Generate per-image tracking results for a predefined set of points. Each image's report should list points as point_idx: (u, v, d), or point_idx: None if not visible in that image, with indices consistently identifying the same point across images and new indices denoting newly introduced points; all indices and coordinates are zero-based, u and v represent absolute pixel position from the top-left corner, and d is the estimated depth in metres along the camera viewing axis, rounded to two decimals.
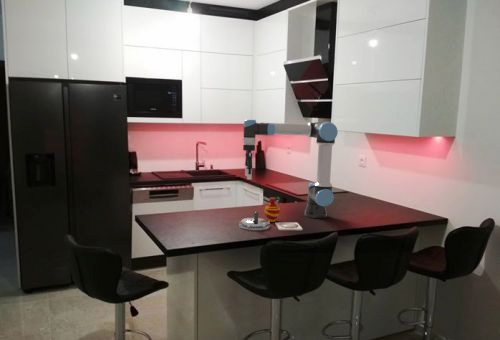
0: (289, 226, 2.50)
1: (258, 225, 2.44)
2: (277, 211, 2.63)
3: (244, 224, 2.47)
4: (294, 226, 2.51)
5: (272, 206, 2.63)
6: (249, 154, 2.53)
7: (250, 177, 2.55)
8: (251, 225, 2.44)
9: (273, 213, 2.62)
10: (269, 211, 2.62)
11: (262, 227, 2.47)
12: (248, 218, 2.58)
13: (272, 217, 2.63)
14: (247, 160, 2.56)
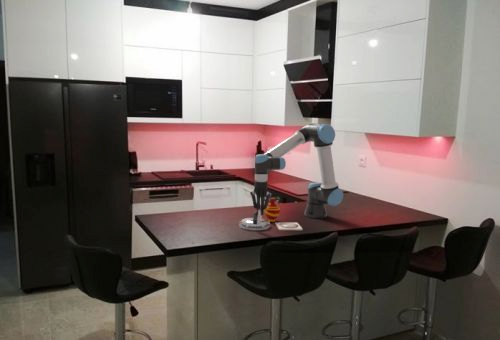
0: (289, 226, 2.50)
1: (257, 225, 2.44)
2: (277, 211, 2.63)
3: (243, 224, 2.47)
4: (294, 226, 2.51)
5: (272, 206, 2.63)
6: None
7: None
8: (250, 225, 2.44)
9: (273, 213, 2.62)
10: (269, 211, 2.62)
11: (262, 227, 2.47)
12: (249, 218, 2.58)
13: (272, 217, 2.63)
14: None
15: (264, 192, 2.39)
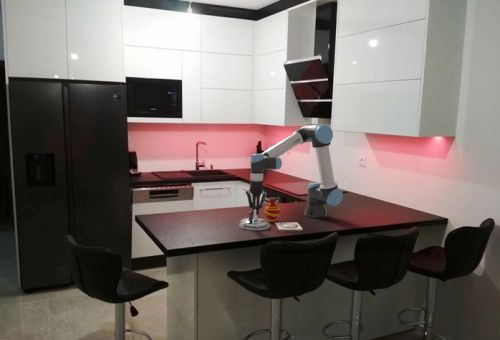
0: (289, 226, 2.50)
1: (251, 225, 2.44)
2: (277, 211, 2.63)
3: (241, 222, 2.50)
4: (294, 226, 2.51)
5: (272, 206, 2.63)
6: None
7: None
8: (245, 224, 2.46)
9: (273, 213, 2.62)
10: (269, 211, 2.62)
11: (262, 227, 2.47)
12: (253, 218, 2.59)
13: (272, 217, 2.63)
14: None
15: (260, 191, 2.40)
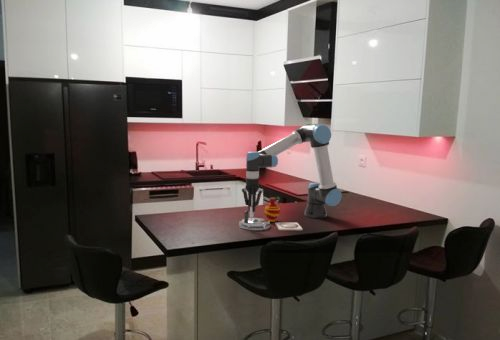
0: (289, 226, 2.50)
1: (245, 224, 2.46)
2: (277, 211, 2.63)
3: None
4: (294, 226, 2.51)
5: (272, 206, 2.63)
6: None
7: None
8: (241, 222, 2.49)
9: (273, 213, 2.62)
10: (269, 211, 2.62)
11: (262, 227, 2.47)
12: (259, 218, 2.58)
13: (272, 217, 2.63)
14: None
15: (255, 189, 2.42)
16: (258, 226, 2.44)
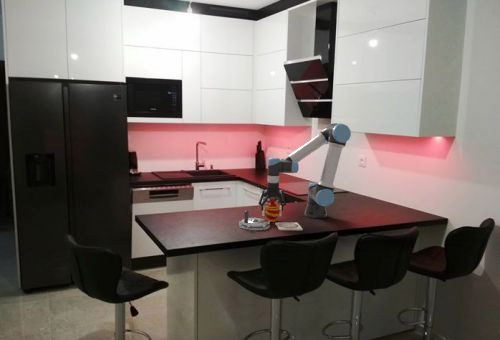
0: (289, 226, 2.50)
1: (245, 224, 2.46)
2: (277, 211, 2.63)
3: None
4: (294, 226, 2.51)
5: (272, 206, 2.63)
6: (262, 191, 2.64)
7: (263, 214, 2.65)
8: (241, 222, 2.49)
9: (273, 213, 2.62)
10: (269, 211, 2.62)
11: (262, 227, 2.47)
12: (259, 218, 2.58)
13: (272, 217, 2.63)
14: None
15: (277, 192, 2.64)
16: (258, 226, 2.44)
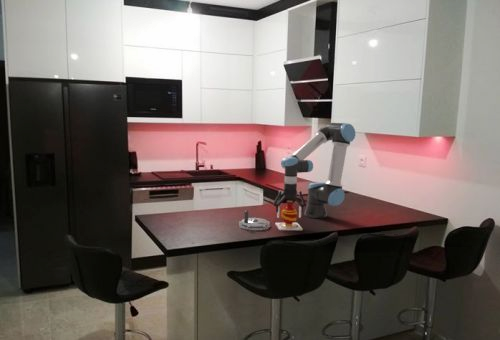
0: (289, 226, 2.50)
1: (245, 224, 2.46)
2: (295, 215, 2.49)
3: None
4: (294, 226, 2.51)
5: (289, 210, 2.49)
6: None
7: (277, 215, 2.51)
8: (241, 222, 2.49)
9: (290, 217, 2.48)
10: (286, 215, 2.48)
11: (262, 227, 2.47)
12: (259, 218, 2.58)
13: (289, 221, 2.49)
14: None
15: (295, 193, 2.50)
16: (258, 226, 2.44)
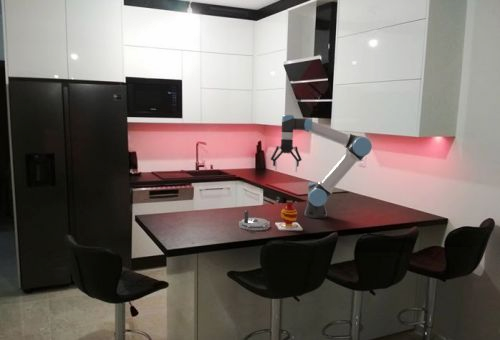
0: (289, 226, 2.50)
1: (245, 224, 2.46)
2: (294, 215, 2.49)
3: None
4: (294, 226, 2.51)
5: (289, 210, 2.49)
6: (276, 147, 2.67)
7: (275, 169, 2.68)
8: (241, 222, 2.49)
9: (290, 217, 2.48)
10: (286, 215, 2.48)
11: (262, 227, 2.47)
12: (259, 218, 2.58)
13: (289, 221, 2.49)
14: None
15: (291, 149, 2.67)
16: (258, 226, 2.44)
